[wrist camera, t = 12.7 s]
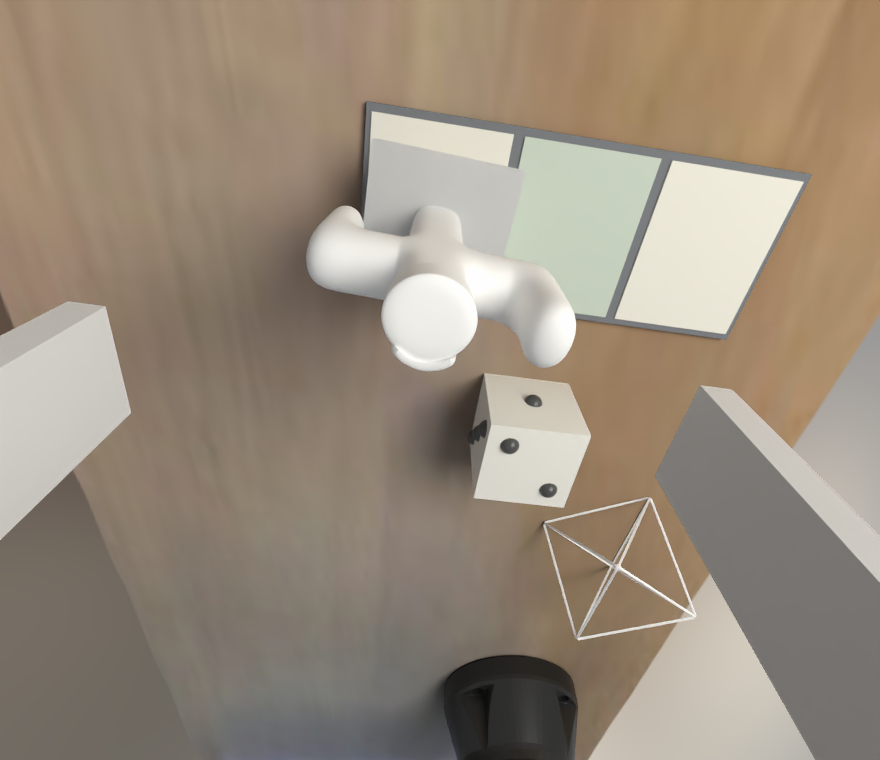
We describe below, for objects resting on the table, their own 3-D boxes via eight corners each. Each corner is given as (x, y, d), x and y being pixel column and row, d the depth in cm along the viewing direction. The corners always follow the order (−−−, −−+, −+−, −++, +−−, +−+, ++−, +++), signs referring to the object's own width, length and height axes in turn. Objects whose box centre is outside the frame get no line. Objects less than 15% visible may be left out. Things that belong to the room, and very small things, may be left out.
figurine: (360, 127, 24) (261, 161, 11) (536, 166, 25) (631, 238, 12) (348, 262, 28) (262, 404, 15) (501, 291, 28) (545, 450, 16)
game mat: (724, 337, 30) (727, 340, 30) (357, 286, 29) (356, 288, 28) (808, 173, 25) (813, 174, 25) (367, 101, 24) (366, 101, 23)
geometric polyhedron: (528, 554, 42) (543, 638, 36) (559, 482, 37) (583, 564, 31) (636, 568, 43) (670, 651, 36) (680, 499, 38) (727, 581, 32)
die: (546, 448, 36) (565, 512, 30) (463, 439, 35) (467, 502, 30) (570, 377, 32) (595, 435, 27) (479, 366, 32) (485, 422, 26)
